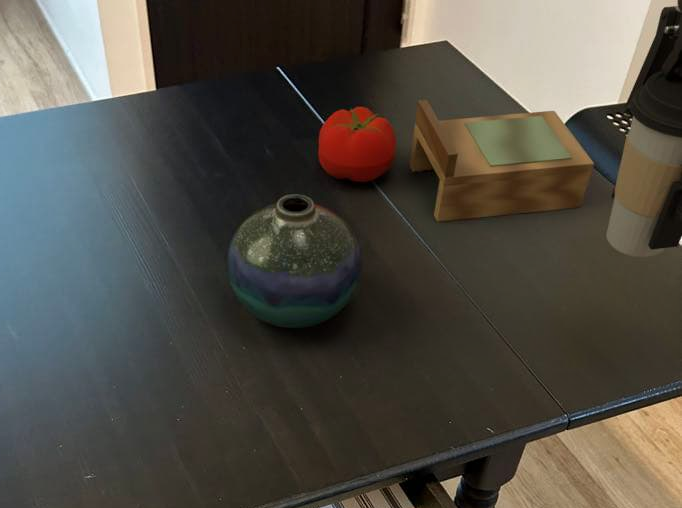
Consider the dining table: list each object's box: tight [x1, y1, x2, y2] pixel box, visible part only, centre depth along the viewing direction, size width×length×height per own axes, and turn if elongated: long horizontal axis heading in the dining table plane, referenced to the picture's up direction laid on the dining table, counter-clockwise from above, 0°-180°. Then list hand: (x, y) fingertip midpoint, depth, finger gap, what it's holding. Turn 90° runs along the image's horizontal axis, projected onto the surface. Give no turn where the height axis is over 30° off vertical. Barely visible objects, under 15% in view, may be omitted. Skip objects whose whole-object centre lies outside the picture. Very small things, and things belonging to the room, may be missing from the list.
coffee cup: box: [606, 71, 682, 258], centre depth 78 cm, size 9×9×15 cm
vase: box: [226, 193, 363, 329], centre depth 93 cm, size 15×15×13 cm
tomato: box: [318, 106, 397, 183], centre depth 113 cm, size 11×11×8 cm
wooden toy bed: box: [408, 99, 595, 223], centre depth 110 cm, size 20×14×9 cm
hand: (643, 220), depth 83 cm, fingers closed on coffee cup, 8 cm apart
